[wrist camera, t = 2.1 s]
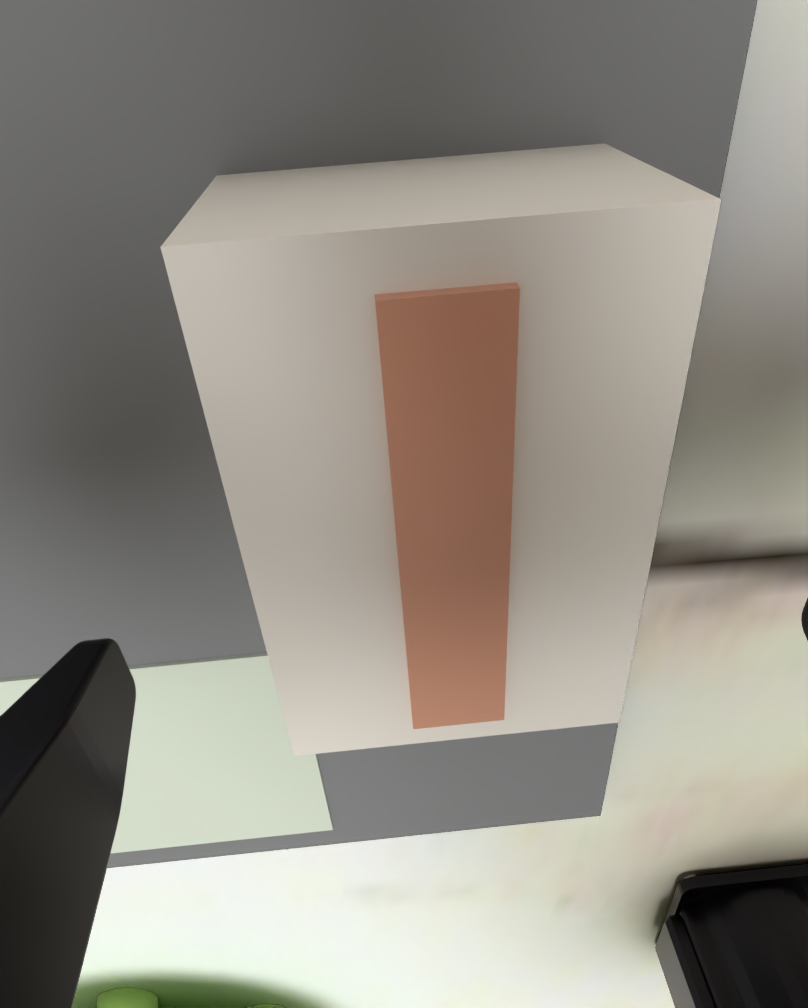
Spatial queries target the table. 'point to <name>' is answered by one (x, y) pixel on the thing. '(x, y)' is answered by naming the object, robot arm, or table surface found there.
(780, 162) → the table surface
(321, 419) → the box
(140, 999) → the teapot
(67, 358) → the mat
